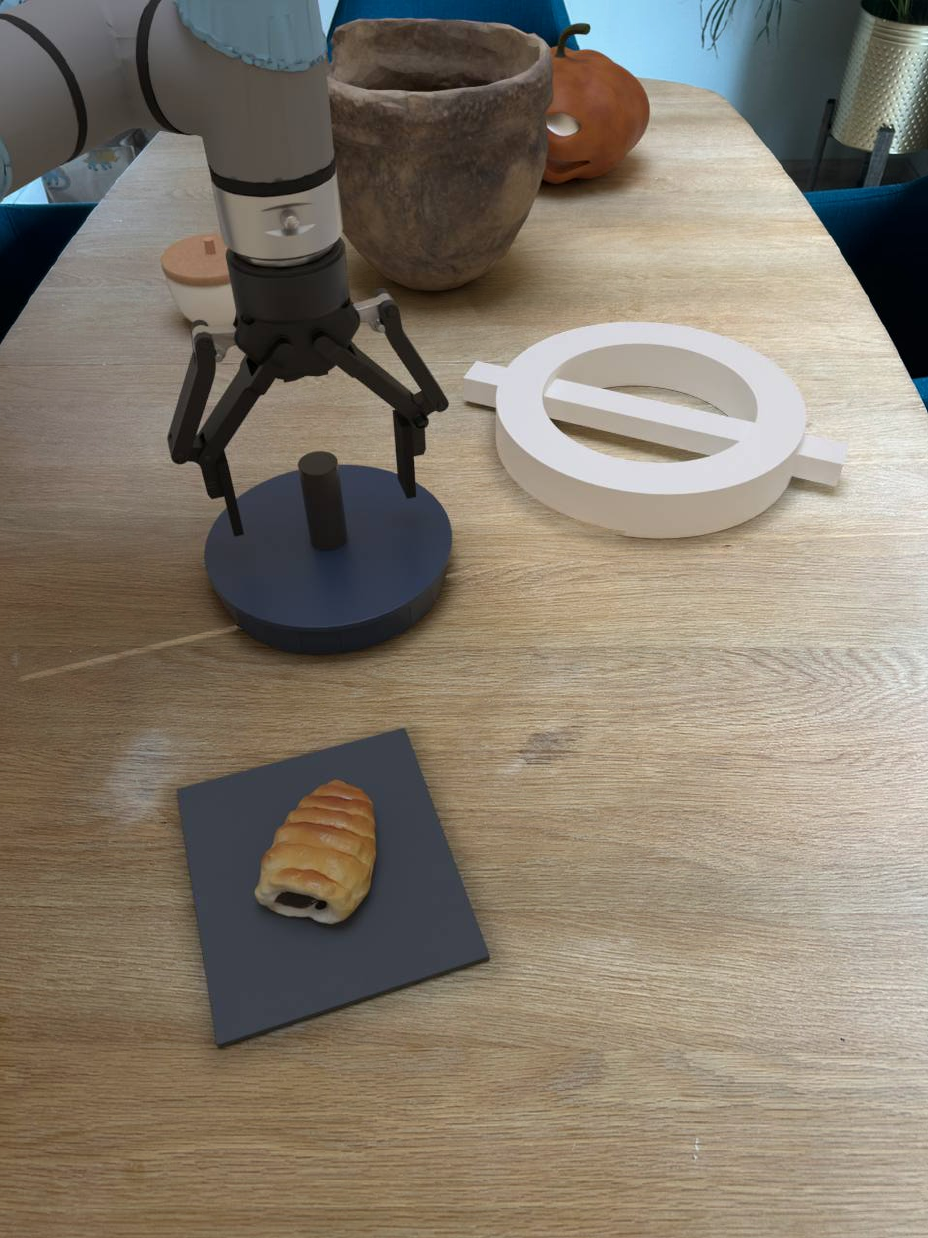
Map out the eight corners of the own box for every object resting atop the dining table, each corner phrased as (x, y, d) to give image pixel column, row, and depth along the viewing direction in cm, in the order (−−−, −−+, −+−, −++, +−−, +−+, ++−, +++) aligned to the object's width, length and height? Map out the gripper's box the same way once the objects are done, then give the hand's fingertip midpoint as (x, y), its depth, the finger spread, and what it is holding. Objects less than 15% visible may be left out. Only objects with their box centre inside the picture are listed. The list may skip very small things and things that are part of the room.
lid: (191, 502, 85) (168, 417, 79) (413, 456, 90) (407, 371, 83) (228, 665, 72) (203, 578, 66) (486, 602, 76) (486, 513, 70)
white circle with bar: (453, 396, 101) (452, 354, 97) (696, 341, 107) (703, 300, 104) (572, 572, 82) (576, 527, 79) (857, 492, 89) (872, 448, 86)
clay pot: (287, 316, 113) (250, 74, 95) (369, 221, 130) (351, 1, 112) (512, 349, 107) (517, 99, 89) (566, 245, 124) (580, 17, 106)
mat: (178, 793, 68) (176, 788, 67) (405, 731, 71) (404, 727, 71) (218, 1048, 55) (216, 1045, 55) (489, 960, 59) (489, 956, 59)
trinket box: (158, 335, 110) (136, 254, 103) (205, 291, 117) (189, 211, 111) (244, 351, 108) (229, 268, 101) (288, 304, 115) (276, 224, 108)
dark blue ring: (204, 527, 87) (197, 500, 85) (409, 483, 91) (407, 455, 89) (240, 680, 75) (233, 652, 72) (476, 621, 78) (475, 592, 76)
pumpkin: (430, 167, 142) (424, 17, 129) (553, 122, 154) (559, -20, 140) (556, 221, 129) (565, 60, 115) (680, 167, 140) (701, 15, 127)
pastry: (301, 788, 67) (294, 754, 64) (398, 805, 66) (395, 771, 63) (252, 915, 61) (241, 883, 58) (359, 936, 60) (353, 904, 57)
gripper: (83, 302, 57) (166, 573, 73) (491, 235, 63) (490, 501, 78) (76, 246, 62) (155, 510, 78) (454, 189, 68) (460, 447, 83)
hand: (323, 506), depth 78 cm, fingers open, 13 cm apart
